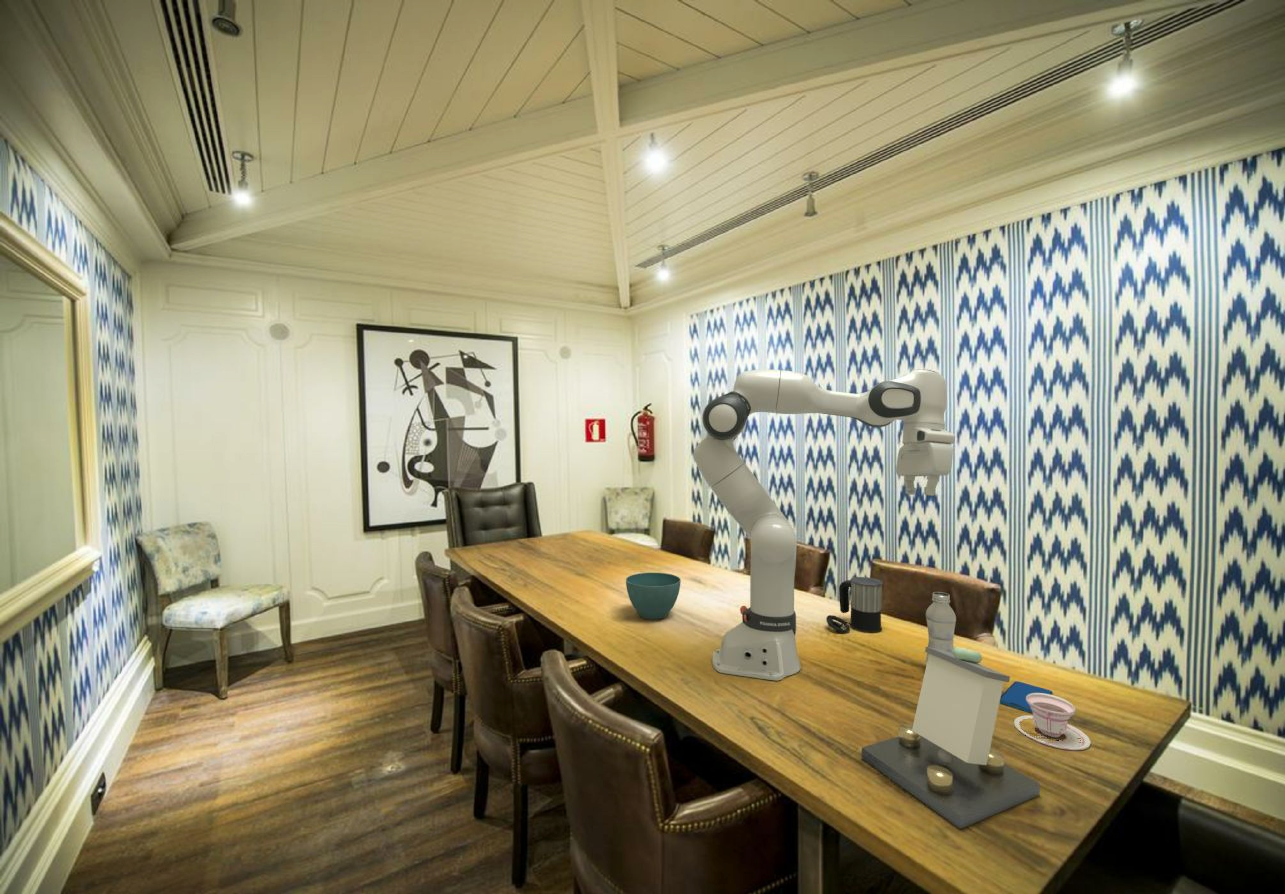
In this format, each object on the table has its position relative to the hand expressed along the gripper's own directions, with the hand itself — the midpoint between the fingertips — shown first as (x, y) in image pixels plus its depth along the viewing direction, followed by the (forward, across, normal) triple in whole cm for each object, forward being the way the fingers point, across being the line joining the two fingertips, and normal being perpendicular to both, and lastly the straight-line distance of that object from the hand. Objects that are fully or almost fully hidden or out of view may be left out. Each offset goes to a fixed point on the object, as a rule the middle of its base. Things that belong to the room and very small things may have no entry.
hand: (919, 494), depth 125 cm
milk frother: (+42, -40, +2) cm, 58 cm away
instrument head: (+47, +32, -8) cm, 57 cm away
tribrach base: (+49, +32, -7) cm, 59 cm away
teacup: (+45, +17, +20) cm, 53 cm away
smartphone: (+44, +2, +25) cm, 51 cm away
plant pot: (+48, -49, -61) cm, 91 cm away
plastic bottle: (+44, -9, +12) cm, 46 cm away
